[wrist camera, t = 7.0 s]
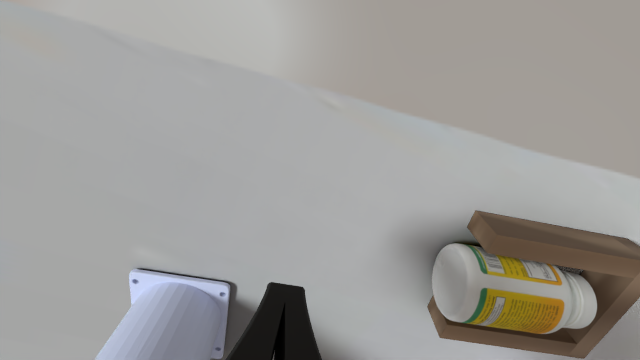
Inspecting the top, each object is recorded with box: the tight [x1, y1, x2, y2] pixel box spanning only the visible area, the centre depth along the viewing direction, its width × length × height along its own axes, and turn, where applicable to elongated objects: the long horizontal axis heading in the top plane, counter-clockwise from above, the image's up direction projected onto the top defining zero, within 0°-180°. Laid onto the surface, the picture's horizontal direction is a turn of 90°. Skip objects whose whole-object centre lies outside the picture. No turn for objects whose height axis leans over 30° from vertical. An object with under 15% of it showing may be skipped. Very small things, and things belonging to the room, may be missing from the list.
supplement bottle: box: [432, 243, 597, 334], centre depth 22 cm, size 5×5×10 cm
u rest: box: [427, 211, 640, 359], centre depth 23 cm, size 10×12×3 cm
